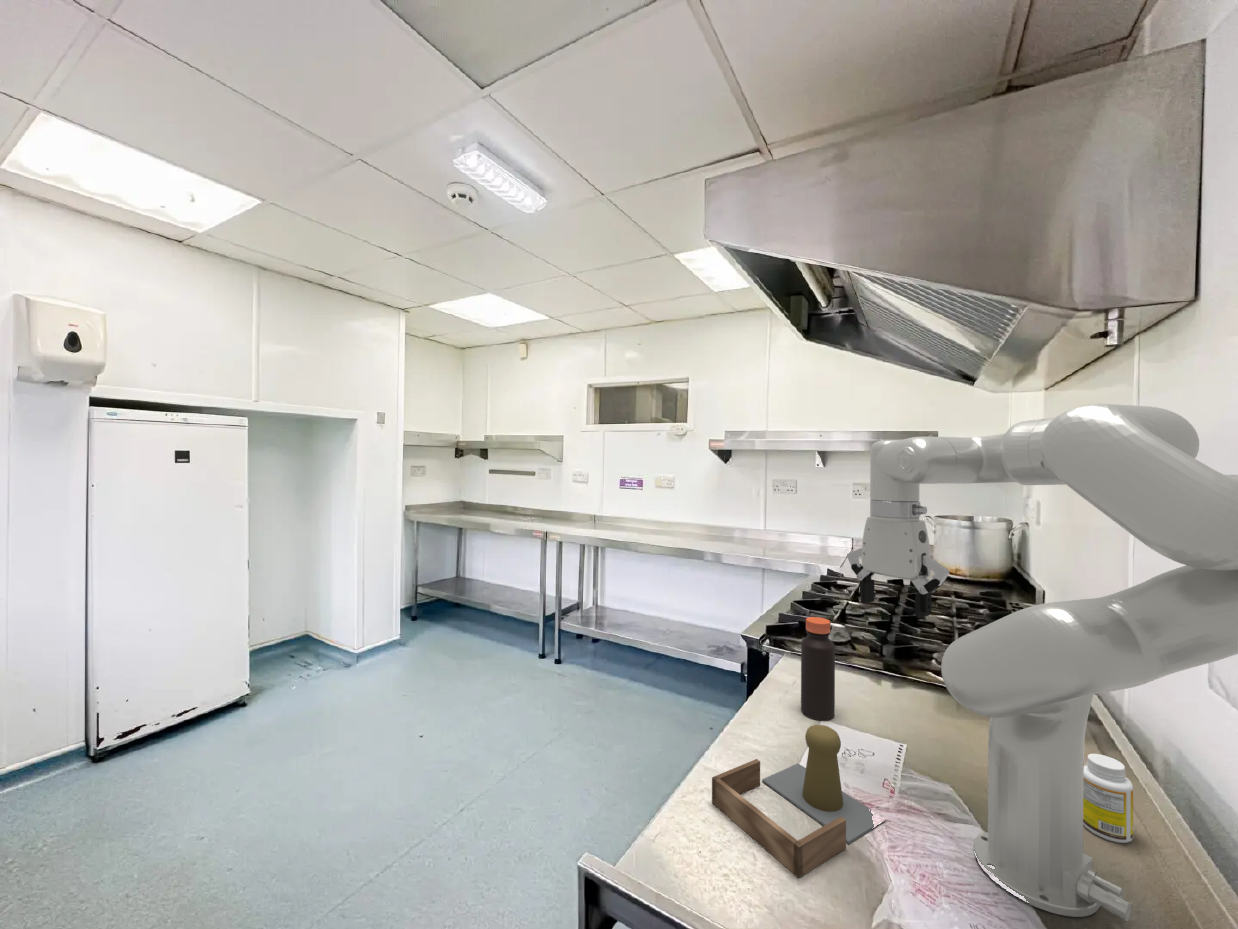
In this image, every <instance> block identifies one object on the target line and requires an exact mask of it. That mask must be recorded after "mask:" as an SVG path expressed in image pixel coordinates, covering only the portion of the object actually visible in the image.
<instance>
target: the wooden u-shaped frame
mask: <svg viewBox="0 0 1238 929" xmlns="http://www.w3.org/2000/svg"><path fill="white" fill-rule="evenodd" d="M759 786H761V761H760V760H759V759H758V758H756V759H753V760H750V761H749V762H746V763H743V764H741V765H739V766H736V767H734V768H732V769H729V770H727V771H724V772H721V773H719V774H717V775H715V776H712V777H711V803H712V805H714V806H715V807H716V808H717V809H719V810H720V811H721V812H722V813H723V814H724V815H725V816H726V817H728V818H729V819H730V820H731V821H732V822H733V823H734V824H736V825H737V826H738V827H739V828H740V829H741V830H743V831H744V832H745V833H746V834H748V836H749V837H750V838H752V839H753V840H754V841H755V842H756V843H757V844H759V845H760V846H761V847H762V848H763V849H764V850H766V851H767V852H768V853H769V854H770V855H771V856H772V857H774V858H775V859H776V860H777V861H778V862H779V863H780V864H781V865H783V866H784V867H785V868H787V870H788V871H790V873H792V874H793V875H794V876H795V877H796V878H798V879H800V878H801V877H804V875H806V874H808V873H809V872H811V871H813V870H814V869H816V868H817V867H818V866H821V865H822V864H824V863H825V862H827V861H829V860H830V859H832V858H833V857H835V856H837V855H838V854H840V853H841V852H843V851H845V850H846V849H847V843H846V819H844V818H843V817H839V818H837V819H835V820H834V821H832V822H830V823H828V824H826V825H825V826H821V827H819V828H817V829H816V830H814V831H812V832H810V833H809V834H807V835H805V836H804V837H802V838H800V839H796V838H795V837H794V836H792V835H791V834H790V833H789V832H787V830H785V829H783V828H782V827H781V826H780V825H779V824H777V823H776V822H775V821H774V820H772V819H771V818H770V817H769V816H768V815H766V814H765V813H763V812H762V811H761V810H760V809H758V808H757V807H756V806H755V805H754V804H753V803H751V802H749V800H747V799H746V798H745V797H744V796H742V794H744V793H746V792H749V791H751V790H754V789H755V788H758V787H759Z"/></svg>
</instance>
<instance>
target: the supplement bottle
mask: <svg viewBox="0 0 1238 929" xmlns="http://www.w3.org/2000/svg"><path fill="white" fill-rule="evenodd" d="M1126 775H1127V774H1126V766H1125V765H1124V763H1122V762H1121V761H1119V760H1117V759H1115V758H1112V757H1110V756H1107V755H1104V754H1100V753H1090V754H1087V759H1086V765H1085V764H1084V772H1083V827H1085V828H1086V829H1087V830H1088V831H1090V832H1091V833H1092V834H1095V835H1096V836H1099V837H1100V838H1101V839H1102V838H1103V839H1104V840H1107V841H1110V842H1113V843H1114V842H1115V843H1120V844H1127V843H1130V842H1132V841H1133V839H1134V787H1133V783H1132V782H1131V780H1130V779H1129V778H1128V777H1126Z"/></svg>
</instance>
